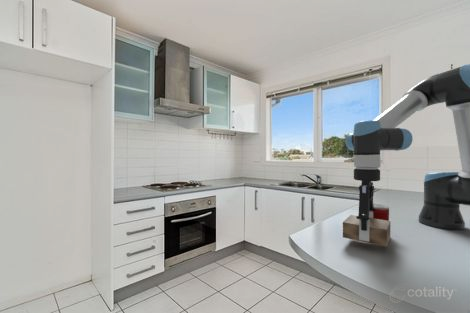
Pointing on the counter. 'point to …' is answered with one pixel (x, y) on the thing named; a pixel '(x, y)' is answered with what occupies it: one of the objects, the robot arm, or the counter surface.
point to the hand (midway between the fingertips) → (366, 234)
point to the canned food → (381, 212)
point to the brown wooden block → (377, 230)
